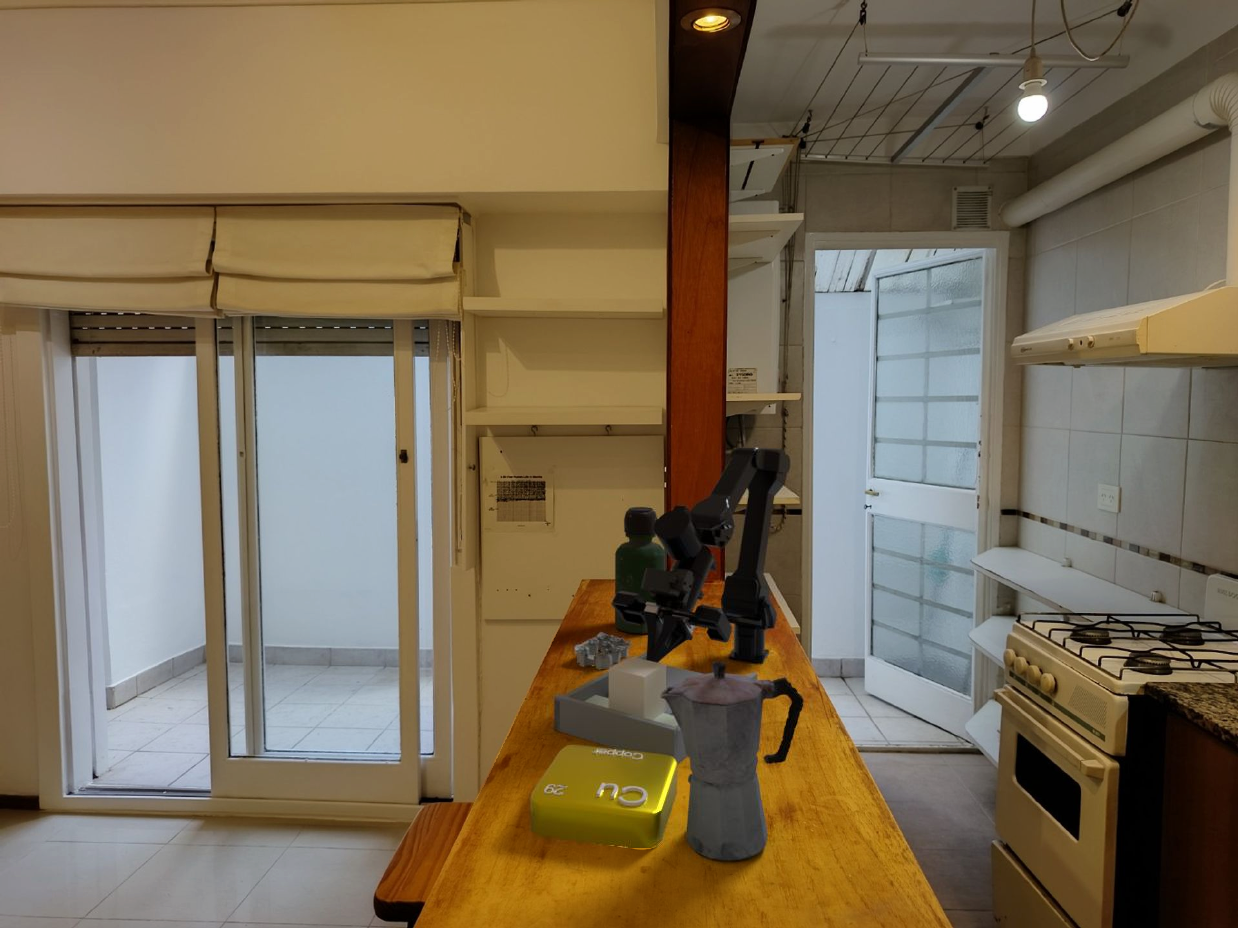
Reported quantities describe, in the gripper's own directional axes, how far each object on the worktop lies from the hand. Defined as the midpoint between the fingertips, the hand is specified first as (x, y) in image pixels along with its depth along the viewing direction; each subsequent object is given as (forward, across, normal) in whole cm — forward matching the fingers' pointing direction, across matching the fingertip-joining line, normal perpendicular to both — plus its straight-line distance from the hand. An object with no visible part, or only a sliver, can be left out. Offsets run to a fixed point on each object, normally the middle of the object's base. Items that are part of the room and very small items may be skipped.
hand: (649, 664), depth 115 cm
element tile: (+23, +8, -10) cm, 26 cm away
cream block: (+7, 0, +2) cm, 7 cm away
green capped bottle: (-21, -26, +34) cm, 48 cm away
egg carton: (-7, -22, +20) cm, 30 cm away
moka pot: (+21, +23, -8) cm, 33 cm away
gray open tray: (+4, 0, +9) cm, 9 cm away
